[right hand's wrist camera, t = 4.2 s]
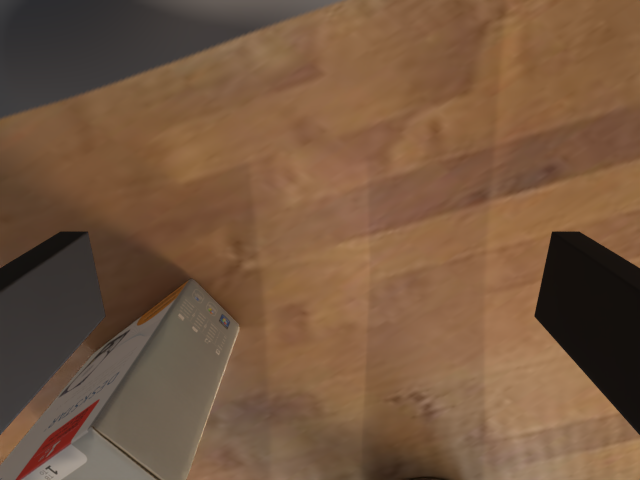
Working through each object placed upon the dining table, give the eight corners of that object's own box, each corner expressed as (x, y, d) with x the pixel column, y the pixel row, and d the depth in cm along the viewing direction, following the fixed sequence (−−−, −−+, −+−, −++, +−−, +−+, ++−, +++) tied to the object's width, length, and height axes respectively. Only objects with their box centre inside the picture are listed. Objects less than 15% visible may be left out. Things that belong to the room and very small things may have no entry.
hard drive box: (191, 273, 43) (94, 425, 24) (242, 325, 45) (189, 499, 27) (89, 353, 47) (-64, 538, 28) (141, 397, 49) (31, 596, 30)
